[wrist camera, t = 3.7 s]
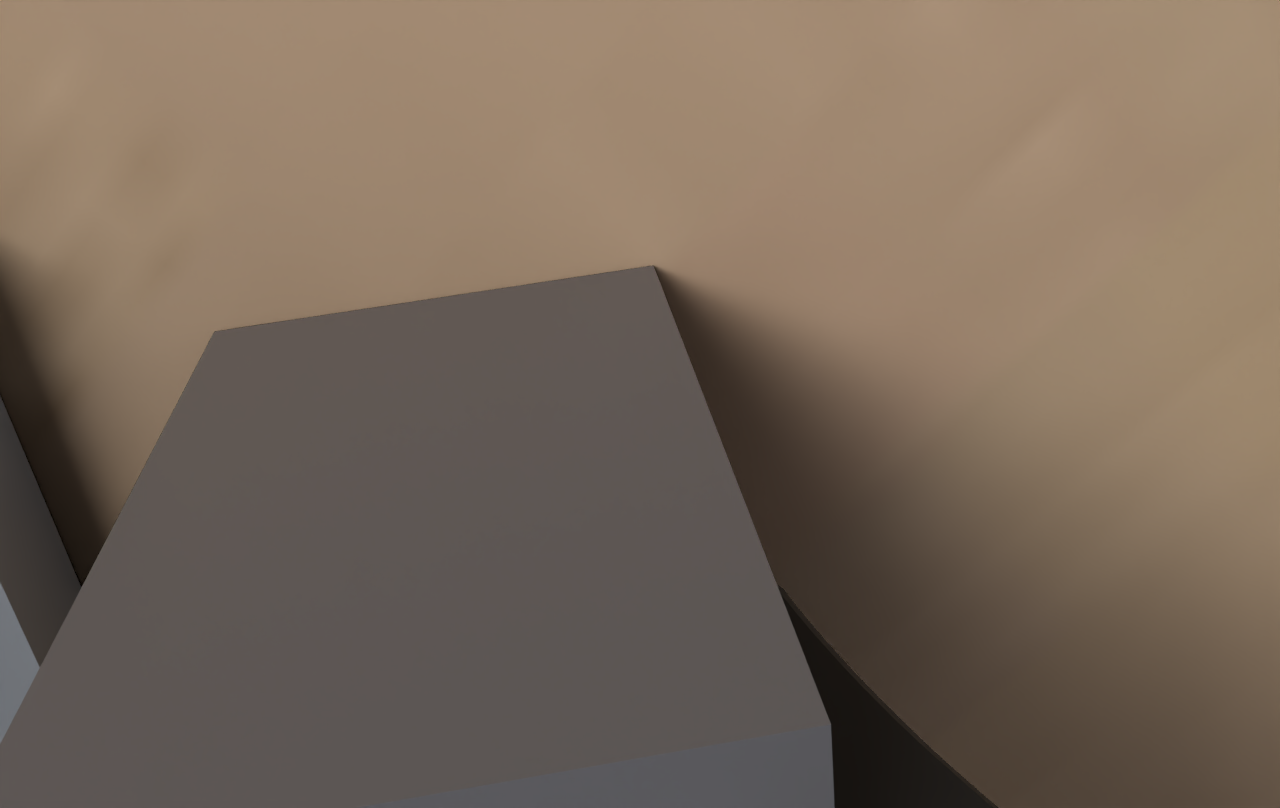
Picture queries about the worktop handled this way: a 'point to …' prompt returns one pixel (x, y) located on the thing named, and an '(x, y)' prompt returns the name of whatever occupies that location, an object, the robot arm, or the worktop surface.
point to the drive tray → (27, 575)
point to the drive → (433, 580)
